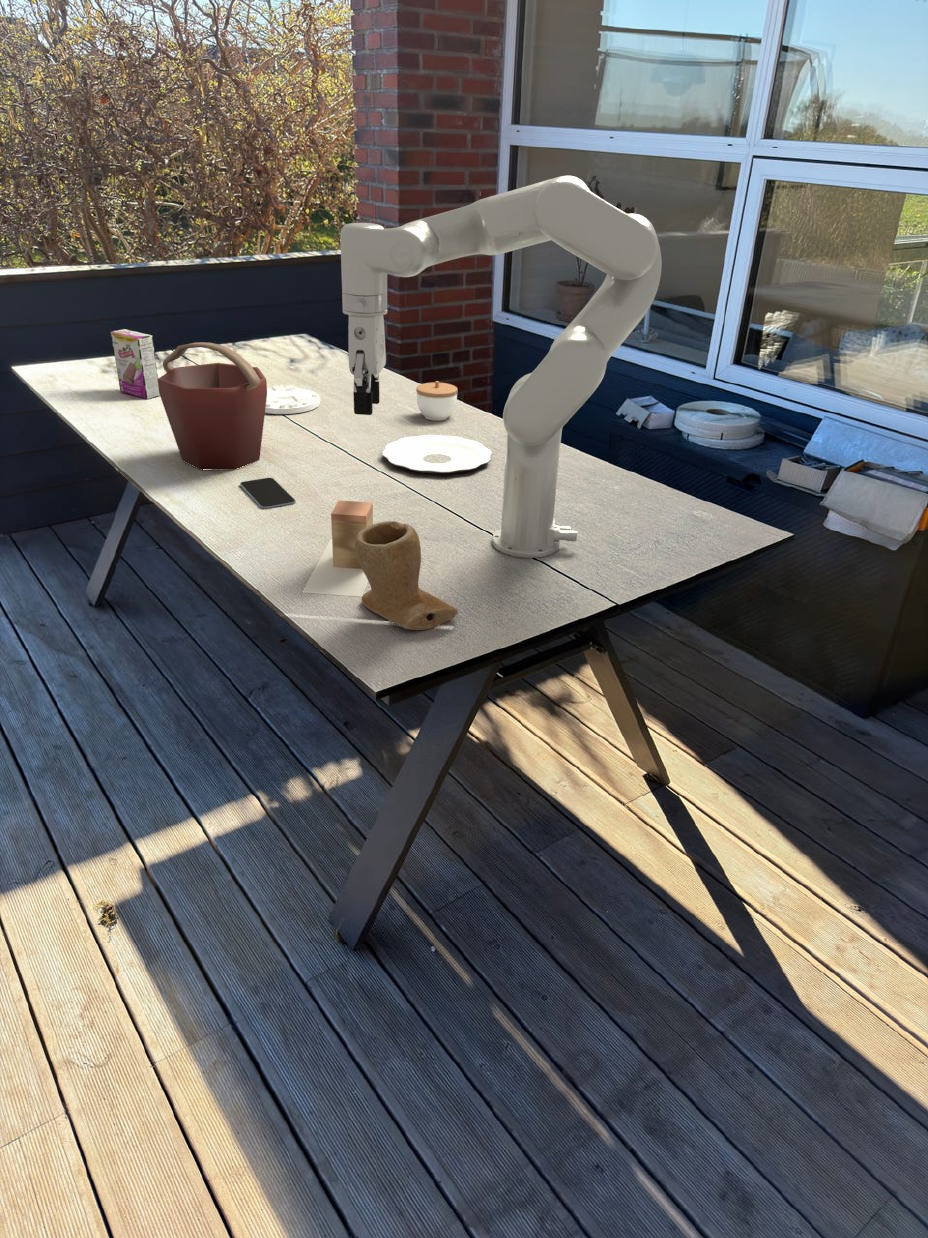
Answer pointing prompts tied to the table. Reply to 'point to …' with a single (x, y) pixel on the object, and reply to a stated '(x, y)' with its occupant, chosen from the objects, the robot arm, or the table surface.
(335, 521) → the oak block
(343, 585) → the mat
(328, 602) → the table surface
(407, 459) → the plate
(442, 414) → the lidded jar
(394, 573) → the clay platform pipe
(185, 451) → the bucket
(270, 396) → the white round plaque
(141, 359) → the candy bar box
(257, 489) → the smartphone
